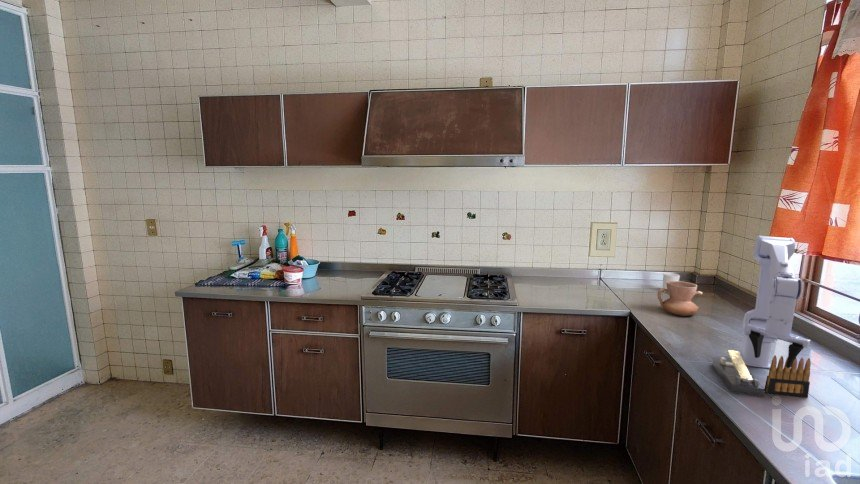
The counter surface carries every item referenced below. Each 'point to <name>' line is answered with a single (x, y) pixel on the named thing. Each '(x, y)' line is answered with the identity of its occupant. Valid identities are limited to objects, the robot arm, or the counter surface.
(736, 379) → the block
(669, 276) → the white cup
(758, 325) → the robot arm
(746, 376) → the tan long flat bar
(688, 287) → the ceramic jug
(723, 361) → the lug
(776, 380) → the ammunition clip
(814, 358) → the counter surface
